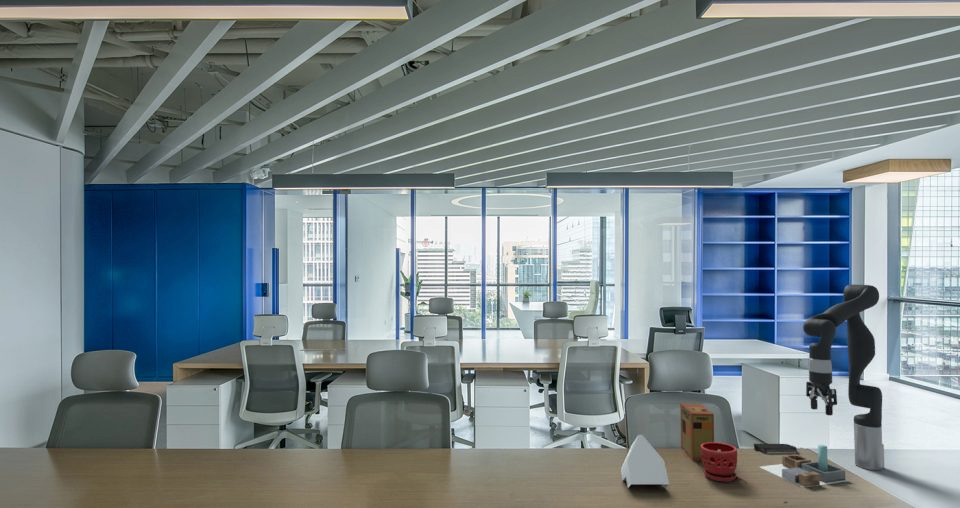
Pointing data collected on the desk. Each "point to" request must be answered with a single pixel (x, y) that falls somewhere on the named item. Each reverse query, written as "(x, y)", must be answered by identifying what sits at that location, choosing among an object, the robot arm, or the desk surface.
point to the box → (695, 429)
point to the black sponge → (775, 448)
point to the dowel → (822, 458)
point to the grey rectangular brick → (792, 474)
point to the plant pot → (719, 461)
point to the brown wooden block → (809, 479)
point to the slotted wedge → (644, 465)
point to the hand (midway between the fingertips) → (821, 412)
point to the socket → (794, 461)
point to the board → (778, 468)
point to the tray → (825, 477)
